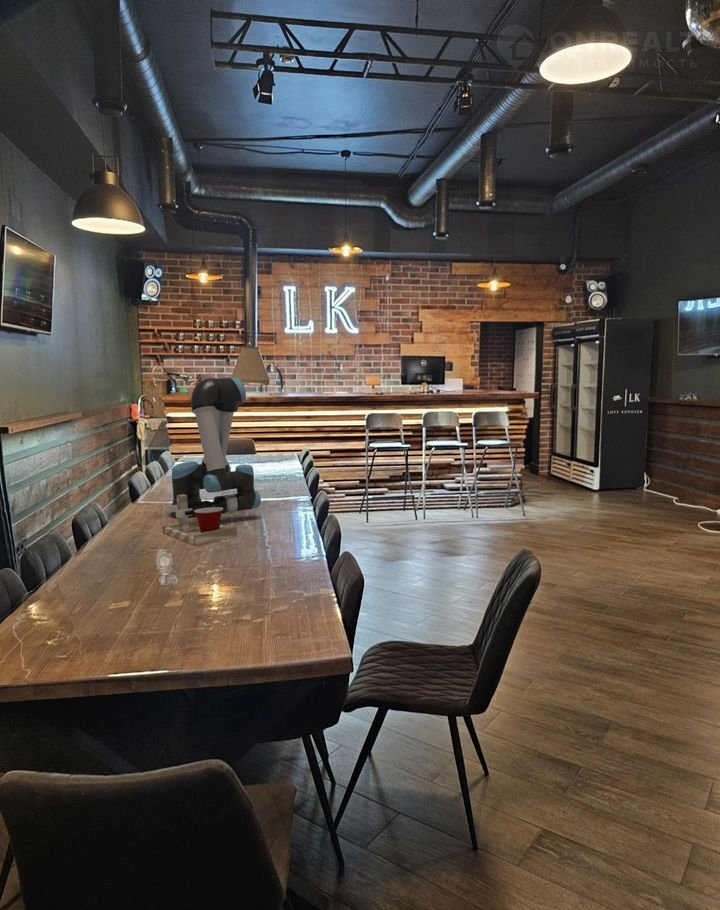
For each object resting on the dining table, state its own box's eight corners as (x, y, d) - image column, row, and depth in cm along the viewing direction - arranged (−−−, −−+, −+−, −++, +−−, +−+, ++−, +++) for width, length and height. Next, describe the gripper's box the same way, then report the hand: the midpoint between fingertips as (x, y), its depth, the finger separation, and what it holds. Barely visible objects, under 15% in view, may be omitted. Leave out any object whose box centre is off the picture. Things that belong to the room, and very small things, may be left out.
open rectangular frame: (162, 532, 234) (159, 498, 232) (201, 524, 245) (199, 491, 244) (196, 546, 213) (194, 508, 211) (237, 536, 225) (235, 501, 223)
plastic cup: (223, 534, 230) (221, 504, 228) (226, 541, 220) (225, 509, 218) (194, 537, 226) (192, 507, 225) (197, 544, 216) (195, 512, 215)
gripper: (235, 517, 238) (181, 526, 226) (215, 508, 257) (164, 515, 245) (234, 499, 237) (179, 507, 225) (215, 491, 256) (163, 498, 244)
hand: (172, 511), depth 235 cm, fingers open, 10 cm apart
